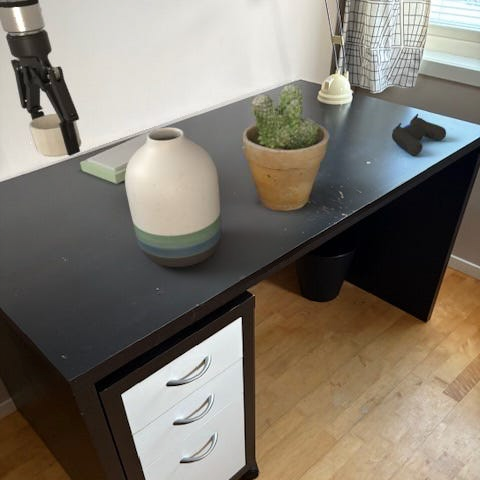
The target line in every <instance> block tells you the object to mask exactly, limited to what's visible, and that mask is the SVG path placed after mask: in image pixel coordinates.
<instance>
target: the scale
mask: <svg viewBox="0 0 480 480" xmlns="http://www.w3.org/2000/svg"><path fill="white" fill-rule="evenodd" d="M151 131H152V130H150V131H149V130H148V131H147V132H144V133H142V134H140V135H138V136H136V137H133V138H130V139H129V140H126V141H123V142H120V143H118V144H115V145H113V146H111V147H109V148H108V149H106V150H103V151H102V152H99V153H97V154H96V155H92V156H91V157H88V158H87V159H83V160H82V161H79V165H80V168H81V171H82V172H84V173H88V174H90V175H93V176H95V177H98V178H100V179H103V180H106V181H108V182H111V183H113V184H115V185H118V184H119V183H121V182H125V173H126V168H127V165H128V162H129V160H130V159H131V157H132V156H133V155H134V154H135V153H136V151H137V150H139V149H140V148H141V147H142V146H143V145H144V144H145V143H146V142H147V134H148V133H149V132H151Z"/></svg>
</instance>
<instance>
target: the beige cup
mask: <svg viewBox="0 0 480 480" xmlns="http://www.w3.org/2000/svg"><path fill="white" fill-rule="evenodd" d="M44 115H45V116H41V117H38V118H36V119H34V120H32V119H31V121H29V122H28V129H29V131H30V134H31V136H32V140H33V143H34V147H35V149H36V151H37V153H38V154H39V155H42V156H45V157H49V158H59V157H64V156H69V155H68V154H67V150H66V147H65V143H64V140H63V136H62V132H61V129H60V125H59V123H61V121H60V119H59V117H58V115H57V113H51V114H44ZM64 118H65V117H64ZM73 124H74V128H75V132H76V135H77V141H78V145H79V148H80V147H81V146H82V140H81V136H80V135H81V134H80V132H79V128H78V123H77V121H74V122H73Z"/></svg>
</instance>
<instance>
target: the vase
mask: <svg viewBox="0 0 480 480" xmlns="http://www.w3.org/2000/svg"><path fill="white" fill-rule="evenodd" d="M150 131H151V132H149V131H148V132H149V133H148V134H147V142H146V143H145V144H144V145H143V146H142V147H141V148H140V149H139V150H137V151H136V153H135V154H134V155H133V156H132V157H131V159H130V160H129V162H128V165H127V168H126V173H125V180H124V185H125V191H126V197H127V202H128V206H129V210H130V215H131V219H132V225H133V229H134V233H135V237H136V241H137V244H138V247H139V248H140V250H141V251H142V253H143V254H144V255H145V257H146V258H148V259H149V260H150V261H151V262H153V263H155V264H157V265H160V266H164V267H168V268H169V267H170V268H185V267H189V266H190V267H191V266H194V265H197V264H199V263H202V262H204V261H206V260H208V259H209V258H210V257H211V256H212V255H213V254H214V253H215V251H216V250H217V248H218V246H219V244H220V241H221V236H222V217H221V216H222V215H221V200H220V188H219V187H220V186H219V176H218V171H217V167H216V165H215V162H214V160H213V159H212V157H211V155H210V154H209V153H208V152H207V151H206V150H205V149H204V148H203V147H201V146H200V145H198V144H197V143H195V142H194V141H192V140H189V139H188V138H186V136H185V132H184V130H182V129H180V128H178V127H168V126H167V127H160V128H155V129H153V130H150Z"/></svg>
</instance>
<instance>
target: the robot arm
mask: <svg viewBox="0 0 480 480" xmlns="http://www.w3.org/2000/svg"><path fill="white" fill-rule="evenodd" d="M39 2H40V1H39V0H0V24H1V27H2V30H3V31H4V32H5V33H7V34H6V36H5V39H6V42H7V46H8V49H9V50H10V54H11V56H12V57H14V59H10V63H11V66H12V69H13V72H14V77H15V82H16V87H17V91H18V97H19V102H20V106H21V108H22V109H23V110H25V109H26V111H27V113H28V114H30V118H31V121H32V120H34V119H36V118H38V117H41V116H45V115H46V114H45V113H44V111H43V109H44V108H43V106H42V105H41V91H42V92H43V93H45V95H46V97H47V98H48V99H47V100H48V101H49V102H50V104H51V106H52V108H53V110H54V112H55V114H57V115H58V117H59V119H60V121H61V123H59V125H60V129H61V132H62V136H63V140H64V143H65V147H66V150H67V154H68V155H67V156H69V157H71V156H74V155H76V154H78V153H80V152H81V149H80V147H79V145H78V141H77V135H76V132H75V128H74V124H73V122H74V121H76V122H77V121H79V120H80V116H79V114H78V111H77V109H76V106H75V103H74V101H73V98H72V95H71V93H70V91H69V89H68V86H67V82H66V80H65V76H64V71H63V69H62V67H61V66H60V65H58V66H52V63H51V61H50V59H49V54H51V52H52V49H53V48H52V45H51V41H50V37H49V34H48V31H47V30H46V29H44V28H45V27H46V23H45V20H44V15H43V13H42V7H41V6H40V3H39ZM64 117H65V118H64Z"/></svg>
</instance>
